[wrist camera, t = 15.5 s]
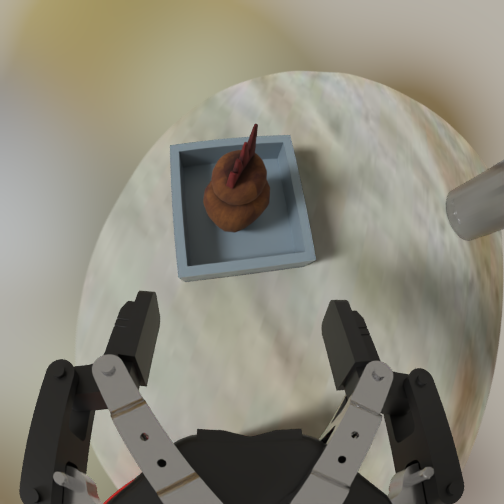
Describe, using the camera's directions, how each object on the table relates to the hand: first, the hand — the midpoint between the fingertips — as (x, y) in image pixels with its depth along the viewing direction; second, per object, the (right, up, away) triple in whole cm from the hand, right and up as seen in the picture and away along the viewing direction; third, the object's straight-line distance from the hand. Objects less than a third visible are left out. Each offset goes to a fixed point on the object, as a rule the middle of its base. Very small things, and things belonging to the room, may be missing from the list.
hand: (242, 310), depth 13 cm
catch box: (-1, +7, +22) cm, 23 cm away
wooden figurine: (-2, +7, +21) cm, 22 cm away
